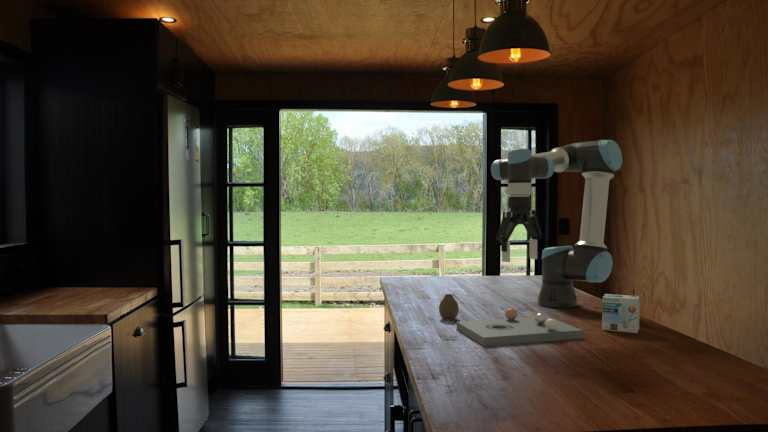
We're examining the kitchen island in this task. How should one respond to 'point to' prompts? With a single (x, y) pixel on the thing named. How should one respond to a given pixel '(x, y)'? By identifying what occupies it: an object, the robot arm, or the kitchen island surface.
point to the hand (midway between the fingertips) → (520, 260)
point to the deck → (516, 331)
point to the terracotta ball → (511, 313)
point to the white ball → (551, 324)
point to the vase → (448, 307)
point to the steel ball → (540, 318)
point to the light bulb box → (620, 313)
